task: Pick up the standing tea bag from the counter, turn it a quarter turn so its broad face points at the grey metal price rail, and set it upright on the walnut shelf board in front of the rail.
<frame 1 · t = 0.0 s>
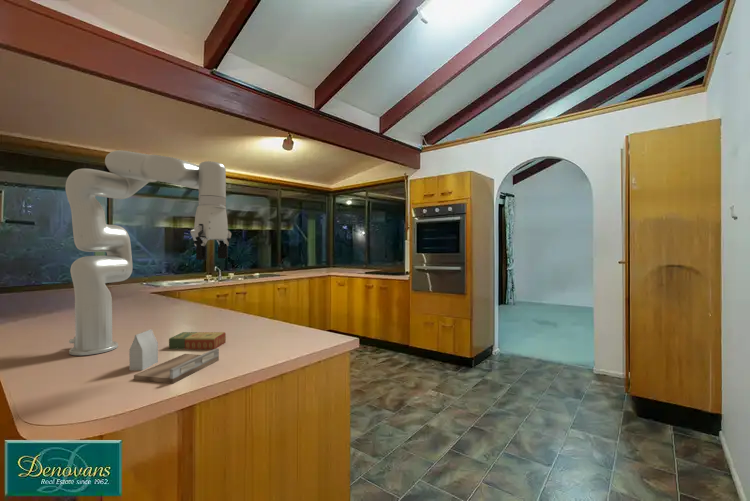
hand: (212, 259, 104), 31 cm above the counter, tool pointing down, fingers open, 9 cm apart
carton: (198, 347, 120), on the counter
tea bag: (144, 366, 99), on the counter
shelf board: (179, 369, 97), on the counter
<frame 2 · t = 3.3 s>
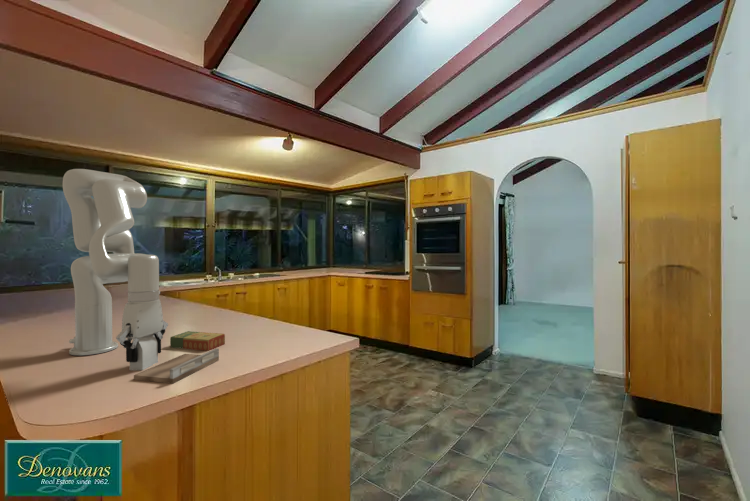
hand: (144, 356, 99), 3 cm above the counter, tool pointing down, fingers closed on tea bag, 7 cm apart
tea bag: (144, 366, 99), on the counter, touching gripper
when the fingers open (5 cm above the counter, at t = 9.6 s): tea bag stays where it is, resting on shelf board.
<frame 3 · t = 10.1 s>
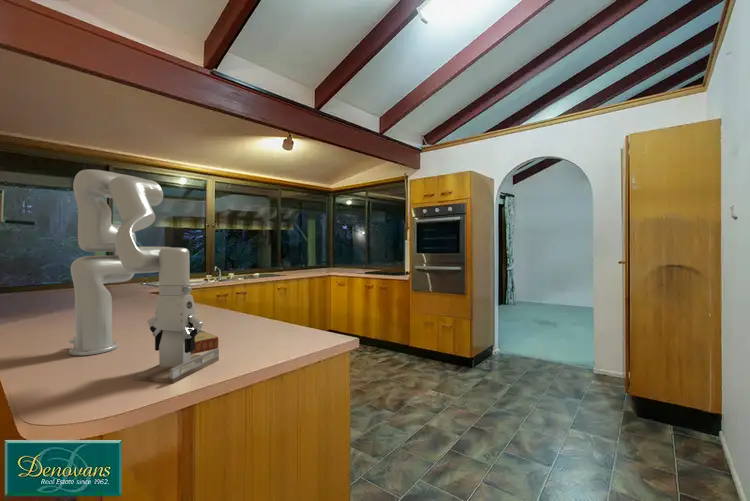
hand: (175, 350, 97), 5 cm above the counter, tool pointing down, fingers open, 9 cm apart
tea bag: (175, 364, 97), point 1 cm above the counter, touching shelf board
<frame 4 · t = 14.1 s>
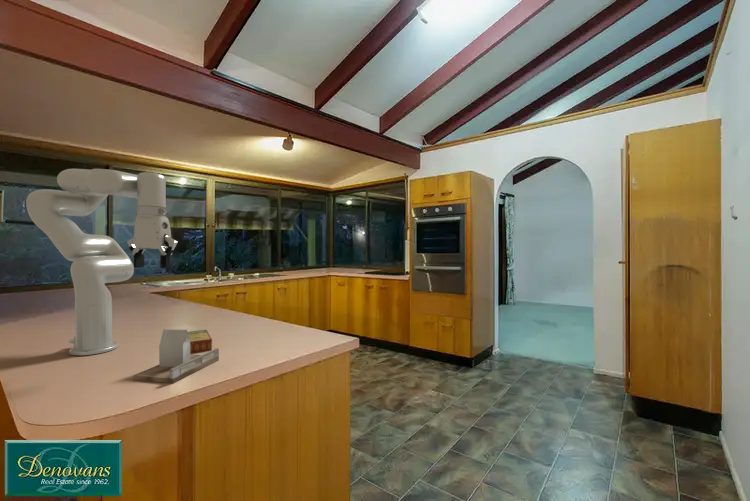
hand: (152, 267, 106), 28 cm above the counter, tool pointing down, fingers open, 9 cm apart
at the end: tea bag inside the target area on the shelf board (1.5 cm from its centre), point 1.0 cm above the shelf board's base; tea bag tilted 0°; the gripper is holding nothing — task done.
